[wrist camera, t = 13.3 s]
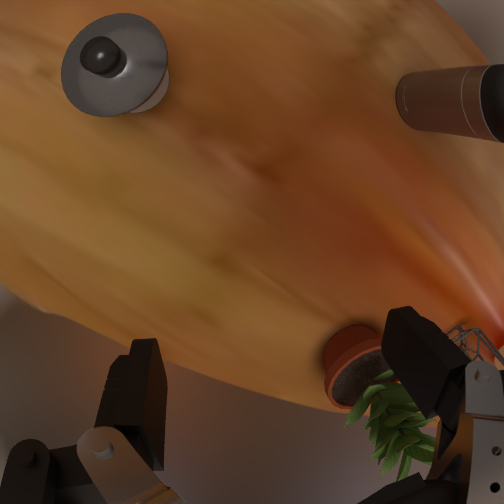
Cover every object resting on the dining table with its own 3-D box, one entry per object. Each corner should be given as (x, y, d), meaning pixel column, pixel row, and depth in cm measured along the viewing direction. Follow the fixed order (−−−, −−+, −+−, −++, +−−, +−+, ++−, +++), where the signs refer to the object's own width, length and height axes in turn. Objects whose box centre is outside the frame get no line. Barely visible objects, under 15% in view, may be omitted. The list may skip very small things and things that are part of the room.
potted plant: (309, 385, 57) (364, 520, 30) (313, 322, 51) (395, 477, 24) (378, 369, 59) (450, 482, 31) (391, 307, 53) (493, 426, 25)
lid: (167, 9, 22) (161, -12, 17) (170, 108, 26) (163, 104, 21) (67, 30, 21) (44, 16, 16) (68, 125, 24) (43, 127, 20)
